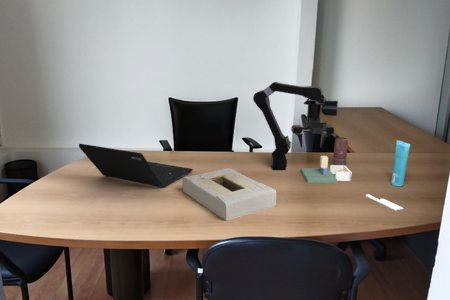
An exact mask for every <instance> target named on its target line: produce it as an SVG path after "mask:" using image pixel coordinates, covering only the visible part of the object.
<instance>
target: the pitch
mask: <svg viewBox="0 0 450 300" xmlns="http://www.w3.org/2000/svg"><path fill="white" fill-rule="evenodd" d="M326 169H327V175H322V173H321V172H320V171H319V170H320V167H319V168H318V167H317V168H313V167H311V168H310V167H309V168H306V167H304V168H303V167H302V168H300V173H301V174H302V176H303V177H304V179H305V181H306V182H307V184H308V183H309V184H310V183H311V184H312V183H313V184H317V183H318V184H322V183H323V184H329V183H330V184H331V183H332V184H338V181H337V179H336V177H335V174H332V172H331V171H330V168H329V167H327V168H326Z"/></svg>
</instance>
